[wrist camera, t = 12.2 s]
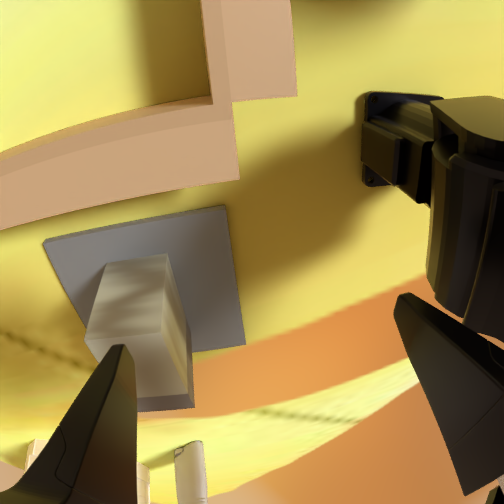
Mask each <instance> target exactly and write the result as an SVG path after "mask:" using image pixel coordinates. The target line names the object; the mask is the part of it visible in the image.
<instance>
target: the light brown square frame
mask: <svg viewBox="0 0 504 504" xmlns="http://www.w3.org/2000/svg"><path fill="white" fill-rule="evenodd" d="M199 1H200V10H201V19H202V28H203V37H204V46H205V55H206V63H207V72H208V80H209V88H210V95H209V96H202V97H196V98H190V99H184V100H178V101H173V102H167V103H162V104H157V105H153V106H148V107H143V108H139V109H134V110H130V111H126V112H122V113H118V114H114V115H110V116H106V117H103V118H99V119H95V120H92V121H88V122H85V123H81V124H78V125H75V126H72V127H69V128H65V129H62V130H59V131H56V132H53V133H50V134H48V135H45V136H42V137H39V138H36V139H34V140H31V141H28V142H26V143H23V144H21V145H18V146H15V147H13V148H11V149H8V150H6V151H3V152H1V153H0V230H3V229H6V228H10V227H13V226H17V225H20V224H24V223H28V222H32V221H35V220H39V219H43V218H47V217H51V216H55V215H59V214H63V213H67V212H71V211H75V210H79V209H84V208H88V207H92V206H97V205H101V204H106V203H111V202H115V201H120V200H125V199H130V198H135V197H140V196H145V195H150V194H155V193H160V192H166V191H171V190H177V189H183V188H189V187H194V186H201V185H207V184H213V183H219V182H226V181H233V180H240V175H239V166H238V157H237V148H236V139H235V130H234V121H233V111H232V102H237V101H246V100H256V99H267V98H280V97H296V96H297V81H296V65H295V51H294V38H293V26H292V15H291V4H290V0H199Z"/></svg>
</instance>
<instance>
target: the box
mask: <svg viewBox="0 0 504 504" xmlns="http://www.w3.org/2000/svg"><path fill="white" fill-rule="evenodd" d="M84 342H85V343H86V345H87V346H88V348H89V349H90V351H91V353H92V354H93V356H94V357H95V359H96V360H97V362H98V363H100V362H101V360H102V359H103V357H104V356H105V354H106V353H107V351H108V350H109V349H110V347H111V346H112V345H114V344H125V345H126V347H127V348H128V350H129V352H130V354H131V355H132V357H133V359H134V362H135V376H136V392H137V412H150V411H163V410H176V409H187V408H195V404H194V388H193V387H194V386H193V366H192V341H191V331H190V328H189V325H188V322H187V318H186V315H185V312H184V309H183V306H182V302H181V299H180V296H179V292H178V289H177V286H176V282H175V279H174V275H173V272H172V268H171V265H170V261H169V258H168V254H167V253H165V254H158V255H152V256H146V257H140V258H134V259H128V260H122V261H116V262H110V263H107V264H106V267H105V270H104V273H103V276H102V279H101V282H100V285H99V289H98V292H97V295H96V298H95V302H94V305H93V308H92V312H91V315H90V319H89V323H88V326H87V330H86V334H85V337H84Z"/></svg>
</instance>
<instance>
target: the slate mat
mask: <svg viewBox="0 0 504 504" xmlns="http://www.w3.org/2000/svg"><path fill="white" fill-rule="evenodd" d="M43 245H44V247H45V250H46V252H47V254H48V256H49V258H50V261H51V263H52V265H53V267H54V269H55V271H56V273H57V275H58V277H59V279H60V281H61V283H62V285H63V287H64V289H65V291H66V293H67V295H68V297H69V299H70V300H71V302H72V304H73V306H74V308H75V310H76V311H77V313H78V315H79V317H80V319H81V320H82V322H83V324H84V325H85V327H86V329H87V326H88V323H89V319H90V315H91V312H92V308H93V305H94V302H95V298H96V295H97V292H98V289H99V285H100V282H101V279H102V276H103V273H104V270H105V267H106V264H107V263H110V262H116V261H122V260H128V259H134V258H140V257H146V256H152V255H158V254H165V253H167V254H168V258H169V261H170V265H171V268H172V272H173V275H174V279H175V282H176V286H177V289H178V292H179V296H180V299H181V302H182V306H183V309H184V312H185V315H186V318H187V322H188V325H189V328H190V331H191V341H192V353H193V352H200V351H208V350H214V349H221V348H228V347H234V346H240V345H246V340H245V334H244V328H243V322H242V315H241V309H240V302H239V296H238V289H237V283H236V276H235V269H234V263H233V256H232V249H231V242H230V236H229V229H228V222H227V215H226V208H225V205H222V206H216V207H209V208H203V209H197V210H191V211H185V212H179V213H174V214H168V215H162V216H157V217H151V218H146V219H140V220H135V221H130V222H125V223H119V224H114V225H109V226H104V227H99V228H95V229H90V230H85V231H80V232H75V233H71V234H66V235H62V236H57V237H53V238H48V239H45V241H44V243H43Z"/></svg>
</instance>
